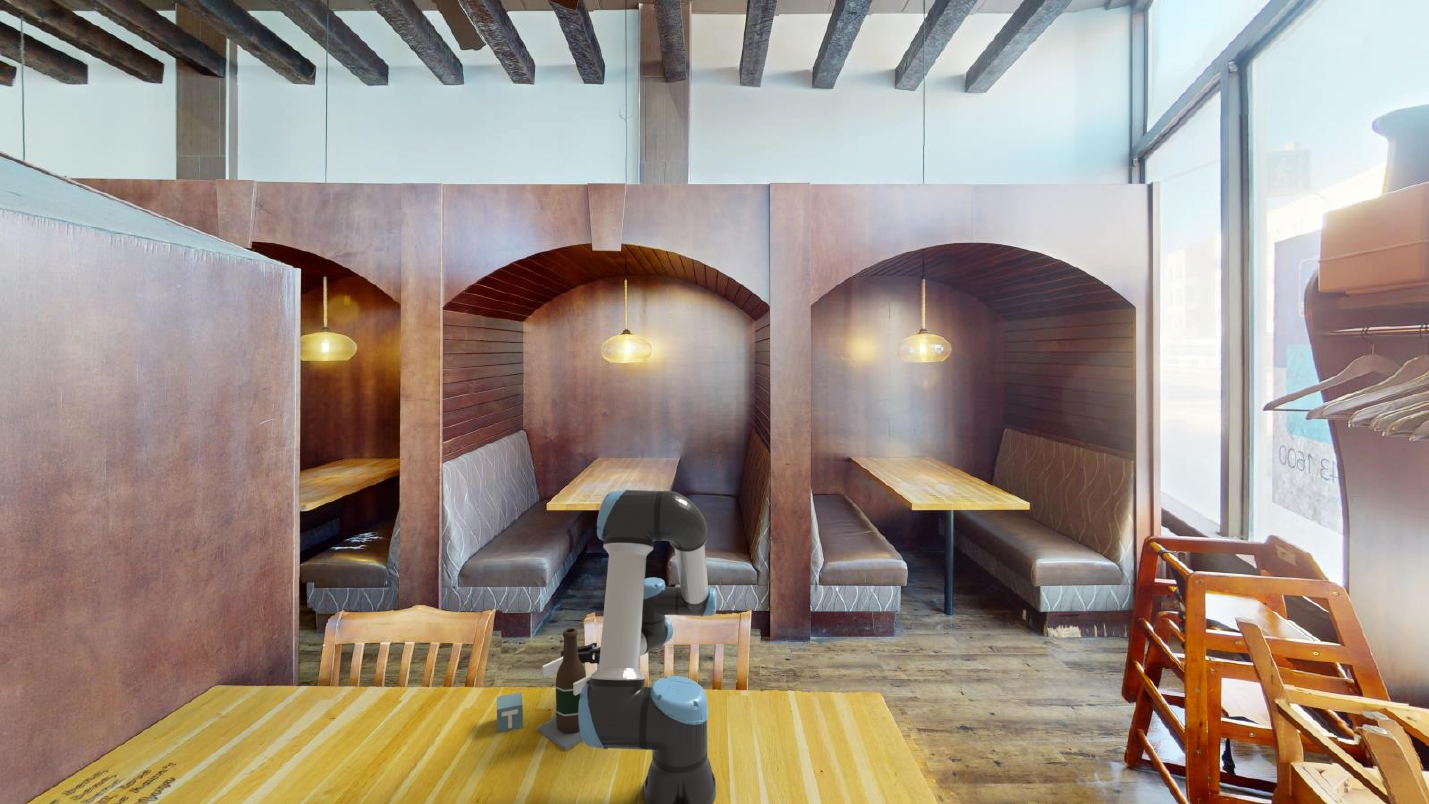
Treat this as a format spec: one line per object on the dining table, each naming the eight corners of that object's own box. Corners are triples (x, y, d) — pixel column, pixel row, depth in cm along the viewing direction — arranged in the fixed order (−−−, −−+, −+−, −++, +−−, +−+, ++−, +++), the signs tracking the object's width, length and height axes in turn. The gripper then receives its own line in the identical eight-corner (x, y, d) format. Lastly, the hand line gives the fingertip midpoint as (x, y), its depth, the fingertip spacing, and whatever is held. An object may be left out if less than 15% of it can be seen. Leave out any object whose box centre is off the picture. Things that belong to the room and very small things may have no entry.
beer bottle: (579, 736, 142) (577, 638, 141) (550, 732, 144) (548, 635, 143) (592, 718, 150) (591, 625, 149) (564, 714, 151) (562, 622, 150)
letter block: (497, 719, 151) (496, 696, 150) (522, 714, 153) (521, 692, 152) (497, 733, 145) (496, 710, 144) (523, 728, 147) (522, 705, 147)
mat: (606, 726, 147) (606, 723, 147) (566, 750, 138) (566, 747, 138) (576, 708, 155) (576, 705, 155) (537, 730, 146) (536, 727, 146)
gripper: (657, 675, 152) (590, 714, 135) (597, 647, 167) (530, 678, 151) (657, 647, 152) (589, 682, 135) (597, 621, 167) (529, 650, 150)
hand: (558, 680), depth 143 cm, fingers open, 12 cm apart
